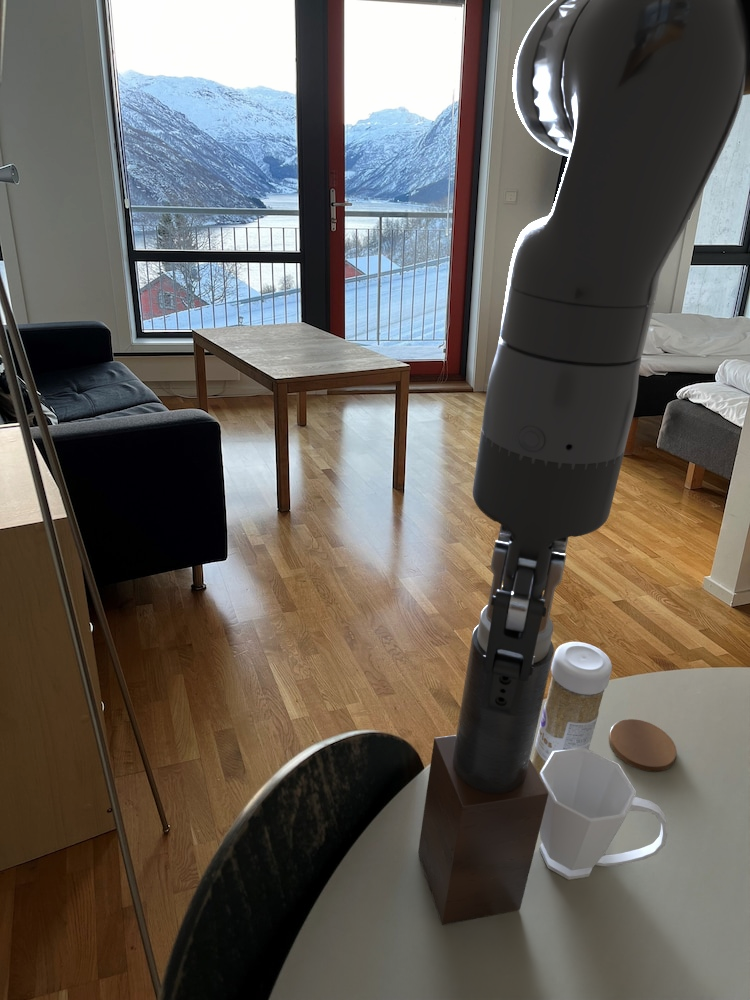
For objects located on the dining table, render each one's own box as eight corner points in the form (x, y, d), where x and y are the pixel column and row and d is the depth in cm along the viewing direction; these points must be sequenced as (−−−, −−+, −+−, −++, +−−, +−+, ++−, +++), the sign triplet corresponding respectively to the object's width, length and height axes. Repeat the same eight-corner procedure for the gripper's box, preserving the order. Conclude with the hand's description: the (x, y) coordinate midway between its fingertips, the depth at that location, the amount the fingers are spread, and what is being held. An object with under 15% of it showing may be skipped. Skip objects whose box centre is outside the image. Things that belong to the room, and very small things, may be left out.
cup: (523, 809, 62) (539, 738, 58) (646, 835, 60) (671, 763, 56) (521, 884, 55) (540, 810, 52) (659, 915, 54) (687, 840, 50)
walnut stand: (489, 839, 59) (512, 727, 53) (520, 910, 54) (549, 793, 48) (417, 852, 57) (434, 737, 52) (442, 925, 52) (462, 807, 47)
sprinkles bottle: (520, 760, 66) (546, 640, 60) (568, 756, 67) (598, 638, 61) (538, 801, 62) (568, 677, 56) (588, 797, 63) (623, 674, 57)
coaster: (651, 720, 72) (653, 715, 72) (688, 766, 67) (690, 762, 67) (597, 727, 71) (598, 722, 71) (630, 776, 66) (631, 771, 65)
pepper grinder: (509, 733, 53) (537, 594, 47) (538, 788, 48) (573, 642, 43) (443, 741, 52) (464, 600, 46) (467, 799, 47) (493, 650, 42)
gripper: (628, 499, 32) (557, 780, 40) (624, 399, 44) (571, 628, 52) (458, 468, 34) (422, 743, 41) (500, 381, 46) (466, 605, 54)
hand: (505, 678), depth 47 cm, fingers closed on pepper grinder, 5 cm apart
